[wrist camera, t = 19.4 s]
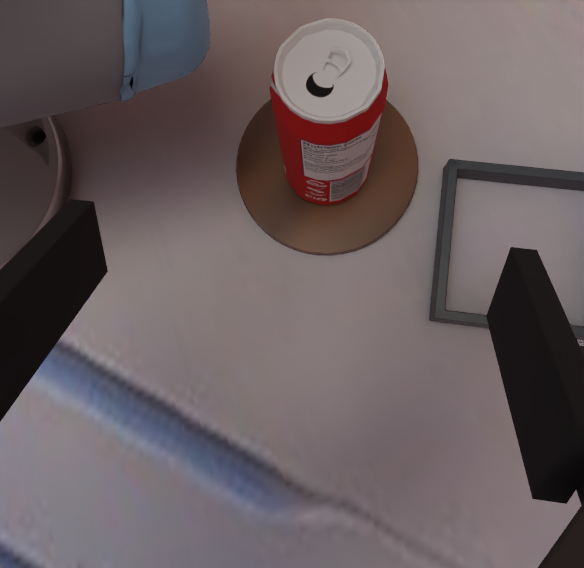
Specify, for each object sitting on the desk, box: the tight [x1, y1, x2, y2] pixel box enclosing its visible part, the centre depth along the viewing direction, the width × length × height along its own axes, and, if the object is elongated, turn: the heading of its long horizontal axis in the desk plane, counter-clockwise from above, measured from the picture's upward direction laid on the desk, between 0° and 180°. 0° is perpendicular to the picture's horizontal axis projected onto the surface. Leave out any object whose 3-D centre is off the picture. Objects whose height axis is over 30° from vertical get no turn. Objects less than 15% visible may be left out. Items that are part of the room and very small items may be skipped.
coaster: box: [236, 100, 418, 255], centre depth 35 cm, size 12×12×1 cm
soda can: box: [270, 18, 388, 205], centre depth 29 cm, size 6×6×12 cm
